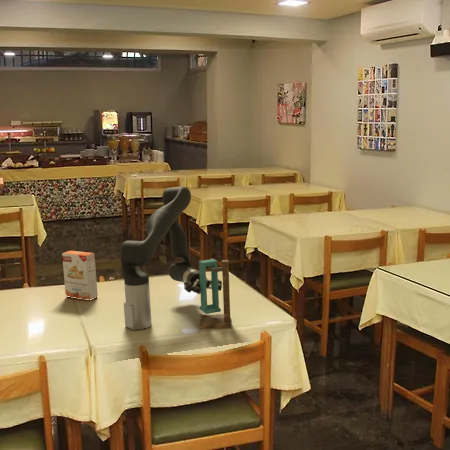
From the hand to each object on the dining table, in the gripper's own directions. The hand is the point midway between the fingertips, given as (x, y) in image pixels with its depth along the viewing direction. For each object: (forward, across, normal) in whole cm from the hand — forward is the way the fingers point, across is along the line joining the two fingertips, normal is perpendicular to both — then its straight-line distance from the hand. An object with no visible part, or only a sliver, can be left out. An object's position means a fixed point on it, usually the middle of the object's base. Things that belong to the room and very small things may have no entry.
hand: (209, 289), depth 229 cm
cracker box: (-58, -39, +13) cm, 71 cm away
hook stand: (+1, +1, +13) cm, 13 cm away
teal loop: (-1, 0, +8) cm, 8 cm away
